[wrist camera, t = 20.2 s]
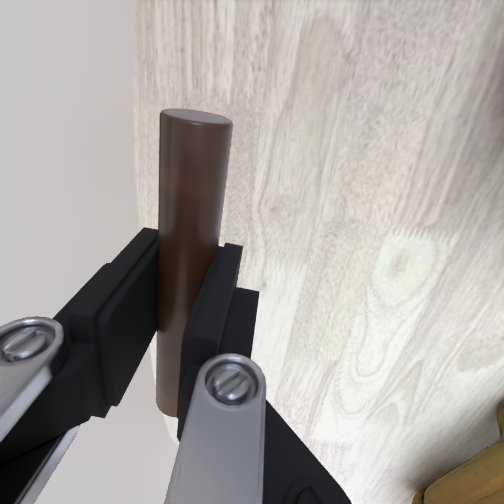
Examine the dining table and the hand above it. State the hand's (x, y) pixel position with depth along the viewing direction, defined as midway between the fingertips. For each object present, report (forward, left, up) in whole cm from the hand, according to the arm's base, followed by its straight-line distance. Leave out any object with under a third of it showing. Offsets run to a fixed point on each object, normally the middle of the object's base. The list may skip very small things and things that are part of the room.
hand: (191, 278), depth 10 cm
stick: (0, 0, 0) cm, 0 cm away
